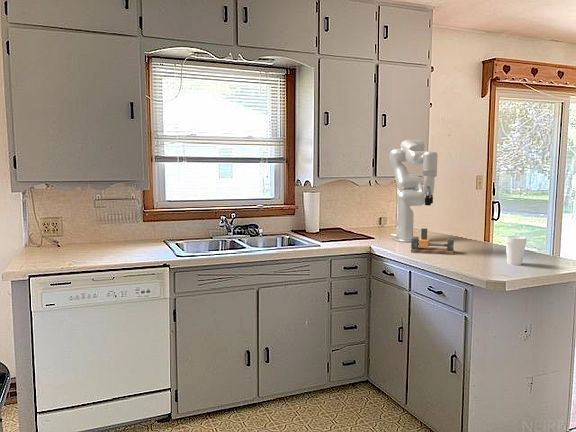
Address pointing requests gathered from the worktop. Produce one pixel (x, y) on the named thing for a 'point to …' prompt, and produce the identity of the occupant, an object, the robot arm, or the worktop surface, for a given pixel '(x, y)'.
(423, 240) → the carriage
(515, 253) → the foam cup
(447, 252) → the rail board
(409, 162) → the robot arm
